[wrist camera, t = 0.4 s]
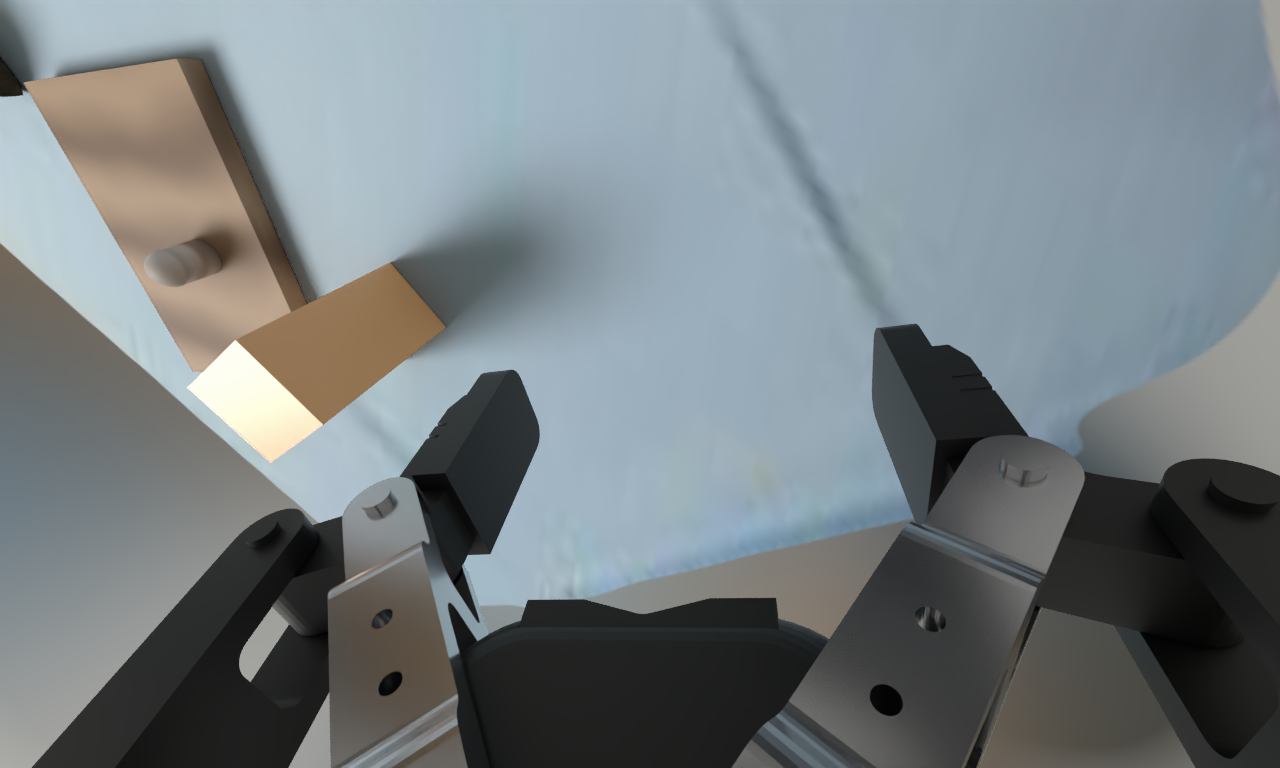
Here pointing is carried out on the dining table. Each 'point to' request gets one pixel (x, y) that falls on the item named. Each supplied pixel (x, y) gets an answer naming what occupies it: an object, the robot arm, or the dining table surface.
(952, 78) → the dining table surface
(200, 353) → the jig plate
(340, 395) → the light orange rectangular block
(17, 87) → the dark brown rough bar
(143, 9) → the dining table surface
